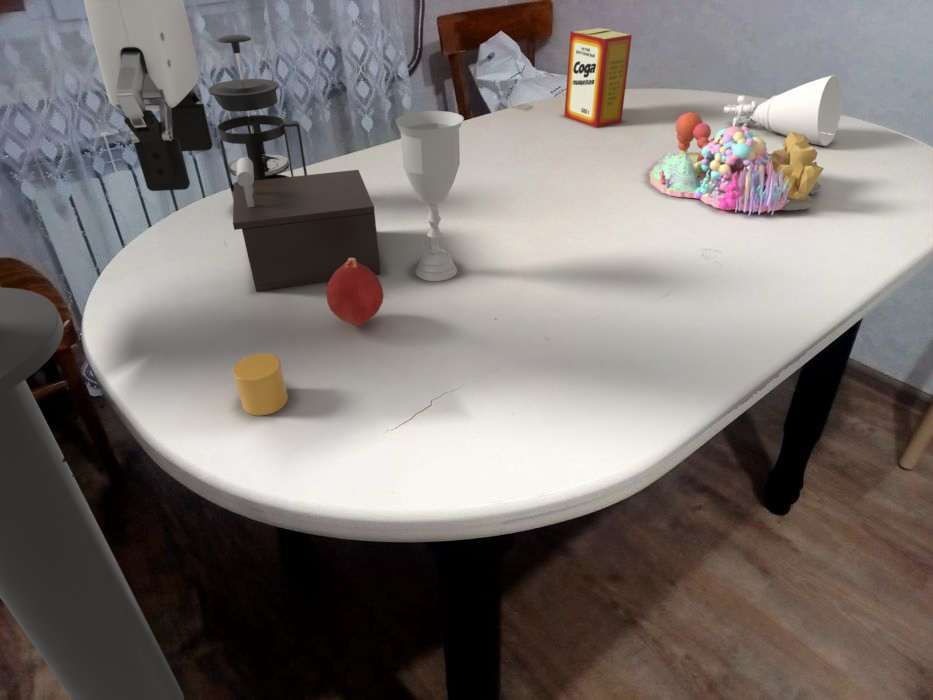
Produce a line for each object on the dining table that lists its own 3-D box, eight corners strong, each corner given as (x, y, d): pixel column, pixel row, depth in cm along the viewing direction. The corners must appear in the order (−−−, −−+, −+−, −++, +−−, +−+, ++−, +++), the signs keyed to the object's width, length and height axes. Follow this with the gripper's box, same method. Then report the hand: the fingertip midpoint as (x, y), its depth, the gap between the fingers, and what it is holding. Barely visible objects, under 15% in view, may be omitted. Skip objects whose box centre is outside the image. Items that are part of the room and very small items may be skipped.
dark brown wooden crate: (256, 291, 76) (241, 229, 72) (254, 245, 86) (241, 188, 82) (380, 274, 79) (374, 213, 75) (365, 231, 89) (359, 175, 85)
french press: (227, 223, 92) (185, 45, 79) (230, 198, 99) (192, 31, 86) (313, 214, 94) (285, 39, 81) (309, 190, 102) (284, 27, 88)
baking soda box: (621, 121, 129) (632, 32, 120) (596, 127, 126) (605, 36, 117) (588, 111, 136) (596, 25, 127) (564, 116, 133) (570, 29, 124)
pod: (238, 417, 58) (228, 381, 56) (246, 389, 61) (237, 354, 59) (284, 414, 58) (276, 378, 56) (290, 386, 61) (282, 351, 59)
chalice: (416, 289, 76) (405, 133, 66) (399, 264, 81) (387, 115, 71) (474, 277, 78) (473, 124, 68) (454, 253, 83) (450, 107, 73)
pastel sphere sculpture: (809, 166, 107) (826, 108, 102) (833, 225, 89) (855, 157, 84) (652, 154, 113) (660, 99, 108) (644, 207, 95) (654, 143, 89)
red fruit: (321, 321, 71) (310, 254, 66) (368, 304, 73) (361, 239, 69) (347, 346, 67) (337, 276, 62) (395, 327, 69) (389, 259, 65)
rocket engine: (727, 70, 122) (832, 60, 110) (747, 103, 130) (847, 97, 118) (708, 128, 121) (812, 125, 109) (729, 157, 130) (828, 157, 118)
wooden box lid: (234, 230, 71) (223, 185, 69) (235, 188, 81) (226, 148, 78) (374, 213, 75) (370, 170, 72) (359, 175, 85) (354, 136, 82)
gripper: (106, -72, 54) (163, 139, 63) (14, -58, 39) (105, 210, 49) (201, -73, 54) (243, 135, 64) (144, -60, 40) (209, 204, 50)
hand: (183, 167), depth 57 cm, fingers open, 9 cm apart
